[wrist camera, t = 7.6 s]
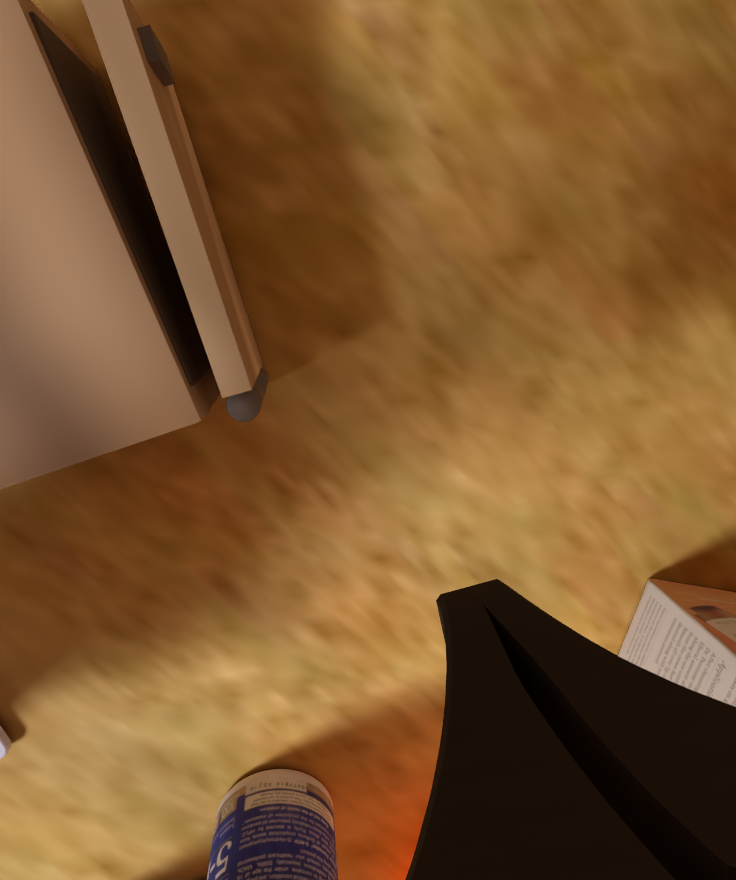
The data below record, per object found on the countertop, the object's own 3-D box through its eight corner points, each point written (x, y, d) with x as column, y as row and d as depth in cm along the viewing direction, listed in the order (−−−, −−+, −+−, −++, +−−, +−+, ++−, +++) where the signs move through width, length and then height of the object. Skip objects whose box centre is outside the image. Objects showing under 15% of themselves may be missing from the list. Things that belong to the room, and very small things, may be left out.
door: (246, 394, 19) (231, 428, 14) (136, 67, 16) (73, -16, 11) (278, 385, 19) (272, 416, 14) (175, 58, 16) (128, -28, 11)
